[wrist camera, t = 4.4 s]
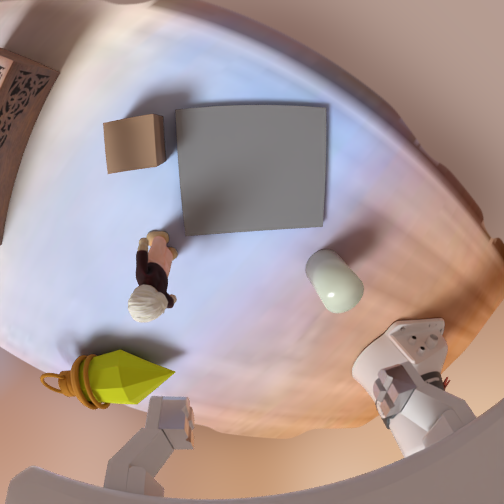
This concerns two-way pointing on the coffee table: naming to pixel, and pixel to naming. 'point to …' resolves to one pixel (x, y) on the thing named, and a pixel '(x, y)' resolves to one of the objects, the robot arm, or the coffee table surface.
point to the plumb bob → (109, 379)
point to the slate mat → (251, 167)
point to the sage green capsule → (334, 281)
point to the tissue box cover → (18, 115)
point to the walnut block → (134, 143)
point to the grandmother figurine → (152, 278)
